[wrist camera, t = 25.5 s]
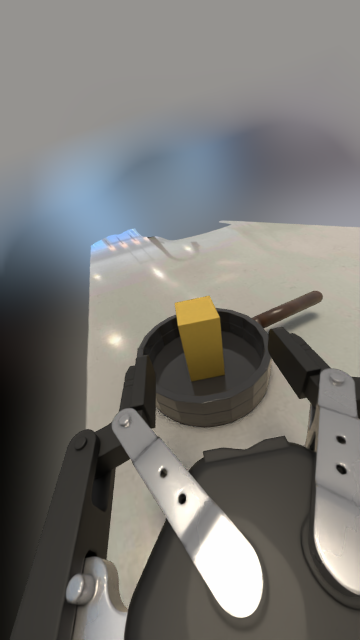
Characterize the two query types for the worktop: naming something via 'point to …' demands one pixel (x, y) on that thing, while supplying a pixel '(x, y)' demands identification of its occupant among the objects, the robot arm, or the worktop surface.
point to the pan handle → (288, 309)
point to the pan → (216, 392)
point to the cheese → (201, 337)
